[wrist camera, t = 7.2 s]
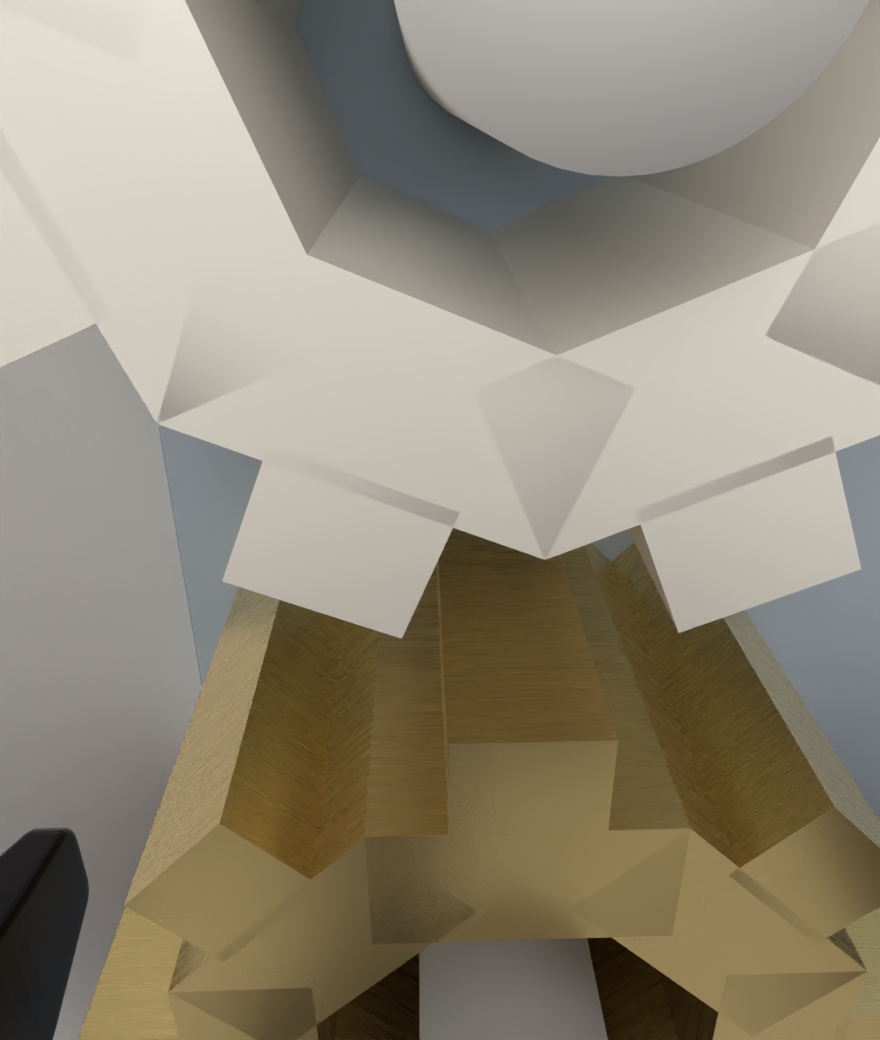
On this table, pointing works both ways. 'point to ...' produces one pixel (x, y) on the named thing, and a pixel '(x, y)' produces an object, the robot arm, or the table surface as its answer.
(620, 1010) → the brass gear
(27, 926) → the robot arm
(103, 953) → the table surface
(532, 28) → the gear board
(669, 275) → the cream gear
